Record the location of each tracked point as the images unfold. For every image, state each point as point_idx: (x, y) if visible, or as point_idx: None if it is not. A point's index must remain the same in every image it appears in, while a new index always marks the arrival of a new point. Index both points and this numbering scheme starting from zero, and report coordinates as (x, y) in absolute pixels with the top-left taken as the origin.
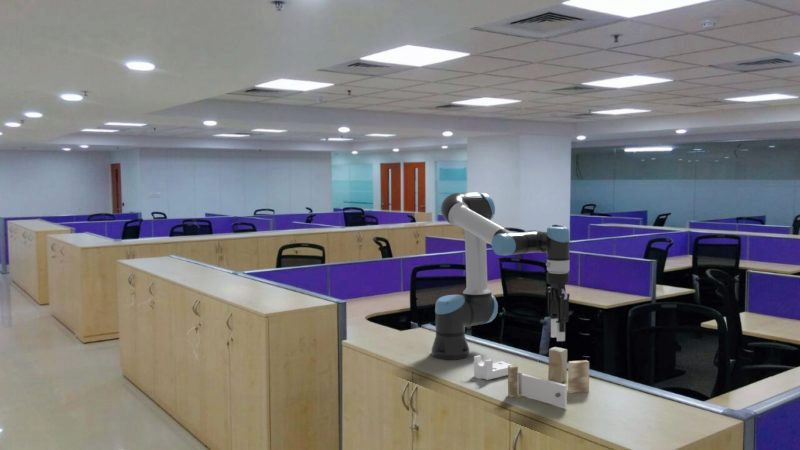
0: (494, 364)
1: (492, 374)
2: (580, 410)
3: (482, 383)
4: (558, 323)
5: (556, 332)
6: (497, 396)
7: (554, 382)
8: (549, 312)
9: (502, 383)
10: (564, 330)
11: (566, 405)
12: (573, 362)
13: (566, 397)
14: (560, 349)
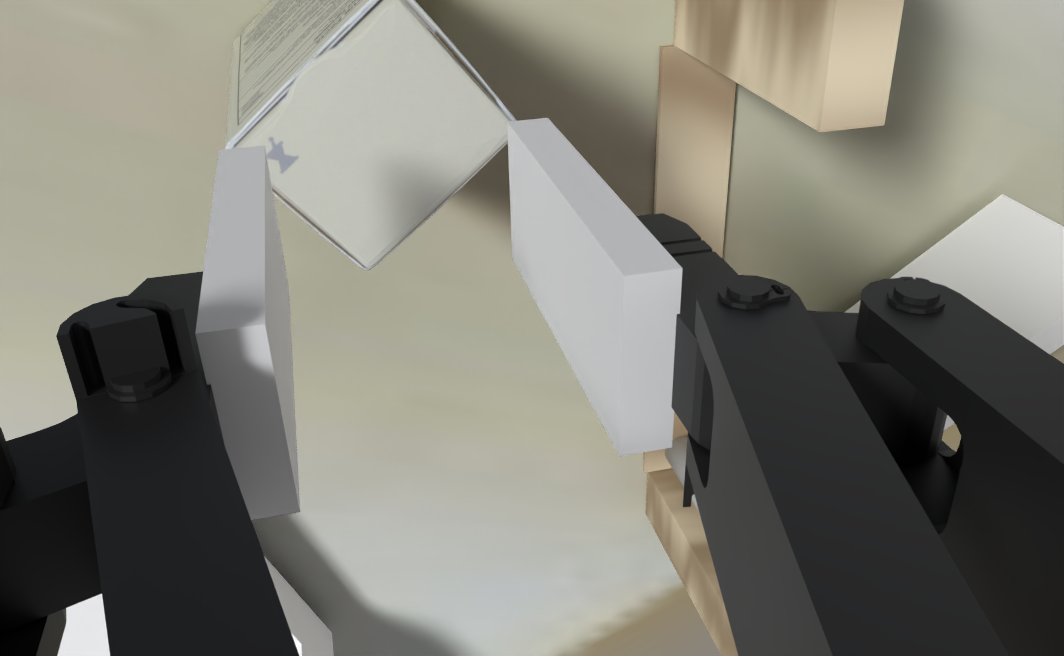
0: (79, 625)
1: (303, 624)
2: (1060, 101)
3: (367, 647)
4: (660, 410)
5: (273, 233)
6: (646, 573)
7: (1040, 345)
8: (58, 649)
9: (383, 526)
10: (689, 229)
11: (1010, 200)
12: (878, 82)
13: (1055, 224)
14: (409, 111)
